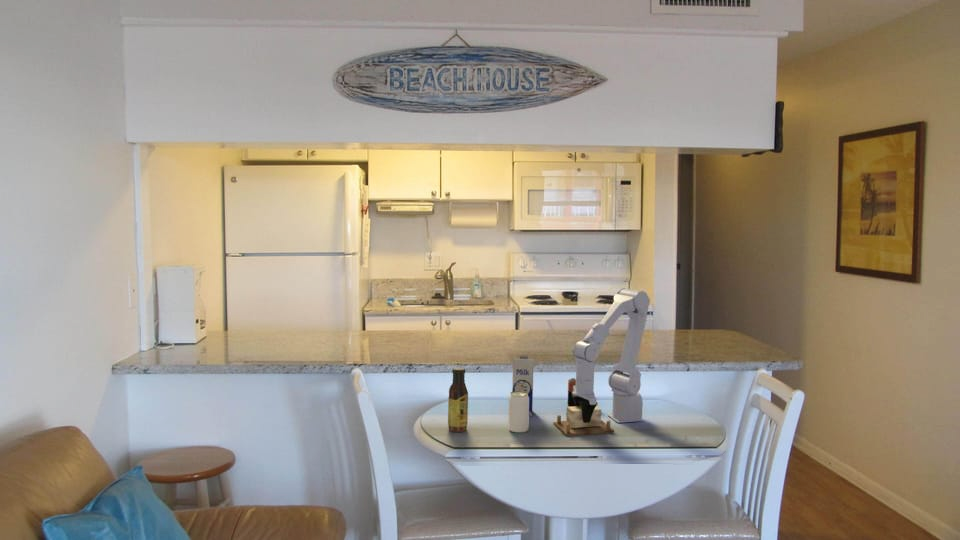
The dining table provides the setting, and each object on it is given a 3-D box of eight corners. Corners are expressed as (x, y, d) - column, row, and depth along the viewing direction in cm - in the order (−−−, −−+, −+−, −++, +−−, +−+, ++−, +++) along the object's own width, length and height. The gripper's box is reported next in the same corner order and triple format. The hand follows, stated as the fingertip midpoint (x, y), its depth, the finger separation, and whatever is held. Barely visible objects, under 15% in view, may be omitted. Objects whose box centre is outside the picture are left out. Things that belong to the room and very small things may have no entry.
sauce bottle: (463, 434, 194) (463, 372, 192) (444, 431, 196) (445, 370, 194) (470, 427, 200) (471, 367, 198) (452, 424, 202) (453, 365, 200)
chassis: (599, 420, 208) (599, 411, 207) (614, 432, 197) (614, 422, 197) (553, 424, 204) (553, 414, 204) (565, 436, 193) (565, 426, 193)
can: (514, 434, 194) (515, 397, 193) (504, 428, 200) (505, 391, 199) (532, 431, 197) (533, 394, 196) (521, 425, 203) (522, 389, 202)
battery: (587, 408, 221) (588, 380, 220) (568, 407, 222) (568, 379, 221) (586, 404, 225) (587, 377, 224) (567, 403, 226) (568, 376, 225)
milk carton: (511, 415, 211) (512, 358, 209) (512, 409, 218) (513, 353, 216) (532, 416, 211) (533, 359, 209) (532, 410, 217) (534, 354, 215)
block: (594, 421, 204) (595, 404, 203) (600, 425, 199) (601, 409, 199) (566, 423, 201) (566, 406, 201) (571, 428, 197) (571, 411, 196)
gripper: (564, 373, 205) (563, 413, 206) (582, 385, 191) (580, 428, 192) (584, 372, 207) (583, 411, 208) (603, 384, 192) (601, 426, 194)
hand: (583, 419), depth 200 cm, fingers closed on block, 4 cm apart
